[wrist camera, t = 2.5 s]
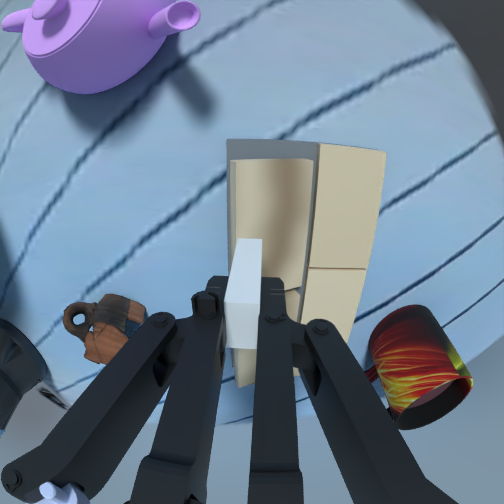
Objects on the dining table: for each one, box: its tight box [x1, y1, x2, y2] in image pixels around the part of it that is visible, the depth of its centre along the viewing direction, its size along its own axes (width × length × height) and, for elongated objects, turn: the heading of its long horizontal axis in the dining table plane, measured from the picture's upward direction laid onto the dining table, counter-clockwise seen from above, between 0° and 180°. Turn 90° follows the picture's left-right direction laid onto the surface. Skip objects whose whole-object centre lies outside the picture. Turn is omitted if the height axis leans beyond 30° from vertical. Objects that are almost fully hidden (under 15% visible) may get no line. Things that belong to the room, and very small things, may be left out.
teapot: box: [1, 0, 200, 94], centre depth 12 cm, size 14×20×11 cm
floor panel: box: [227, 139, 387, 376], centre depth 26 cm, size 13×26×2 cm, turn 179°
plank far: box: [234, 289, 300, 388], centre depth 28 cm, size 6×11×1 cm, turn 178°
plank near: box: [230, 158, 313, 290], centre depth 22 cm, size 6×11×1 cm, turn 178°
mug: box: [365, 305, 473, 430], centre depth 27 cm, size 10×14×12 cm
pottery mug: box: [63, 294, 145, 365], centre depth 29 cm, size 12×10×8 cm
